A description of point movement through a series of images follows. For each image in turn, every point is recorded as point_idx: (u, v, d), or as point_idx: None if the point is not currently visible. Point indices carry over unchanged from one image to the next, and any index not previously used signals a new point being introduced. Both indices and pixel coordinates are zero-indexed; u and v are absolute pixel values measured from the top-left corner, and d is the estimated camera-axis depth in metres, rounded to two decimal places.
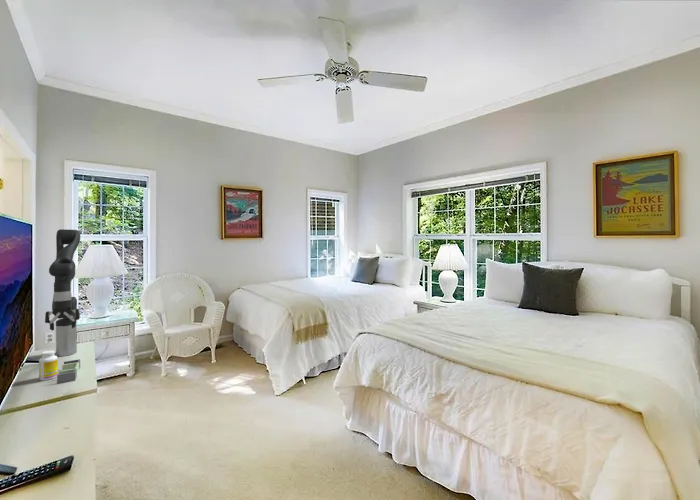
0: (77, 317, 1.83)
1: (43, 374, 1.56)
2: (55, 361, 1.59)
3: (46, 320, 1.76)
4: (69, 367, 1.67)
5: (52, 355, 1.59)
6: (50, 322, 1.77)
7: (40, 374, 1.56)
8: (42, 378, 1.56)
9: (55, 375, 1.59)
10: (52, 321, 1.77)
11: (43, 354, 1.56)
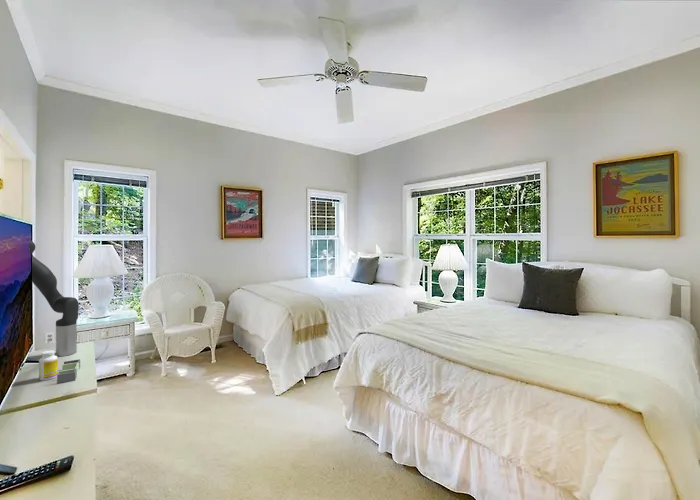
0: None
1: (43, 374, 1.56)
2: (55, 361, 1.59)
3: None
4: (69, 367, 1.67)
5: (52, 355, 1.59)
6: None
7: (40, 374, 1.56)
8: (42, 378, 1.56)
9: (55, 375, 1.59)
10: None
11: (43, 354, 1.56)
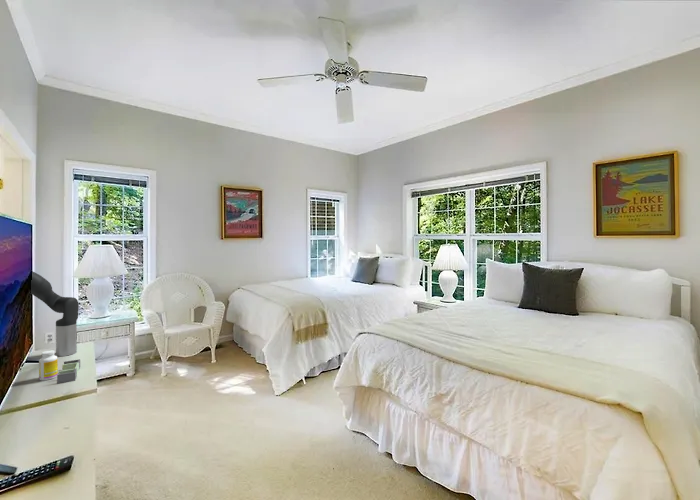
0: None
1: (43, 374, 1.56)
2: (55, 361, 1.59)
3: None
4: (69, 367, 1.67)
5: (52, 355, 1.59)
6: None
7: (40, 374, 1.56)
8: (42, 378, 1.56)
9: (55, 375, 1.59)
10: None
11: (43, 354, 1.56)
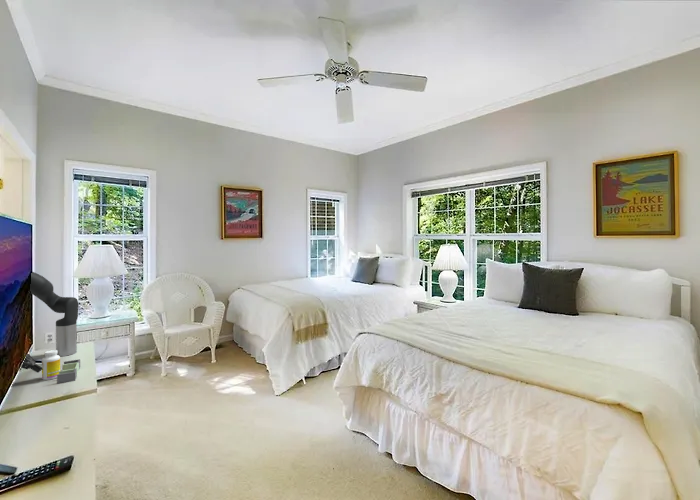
0: None
1: (46, 373, 1.56)
2: (58, 361, 1.60)
3: None
4: (69, 367, 1.67)
5: (55, 355, 1.59)
6: None
7: (43, 374, 1.56)
8: (45, 378, 1.56)
9: None
10: None
11: (46, 354, 1.57)
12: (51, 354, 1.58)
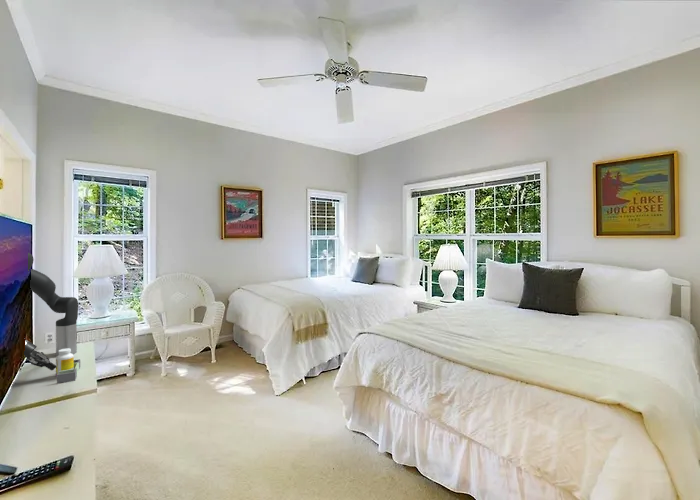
0: None
1: None
2: (72, 359, 1.62)
3: None
4: None
5: (69, 353, 1.62)
6: None
7: (57, 371, 1.59)
8: None
9: None
10: None
11: (60, 352, 1.60)
12: (65, 352, 1.60)
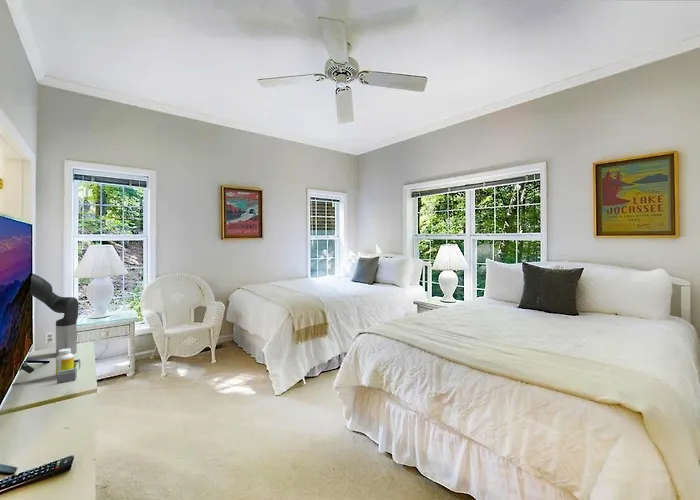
0: None
1: None
2: (72, 359, 1.62)
3: None
4: None
5: (69, 353, 1.62)
6: (21, 368, 1.54)
7: (57, 371, 1.59)
8: None
9: None
10: None
11: (60, 352, 1.60)
12: (65, 352, 1.60)
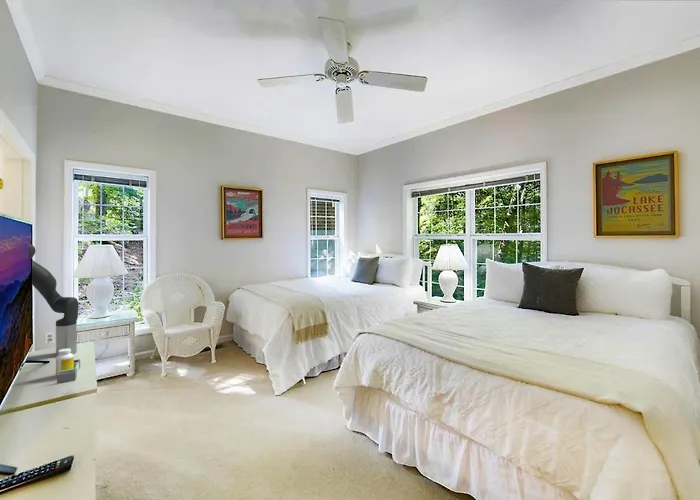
0: None
1: None
2: (72, 359, 1.62)
3: None
4: None
5: (69, 353, 1.62)
6: None
7: (57, 371, 1.59)
8: None
9: None
10: None
11: (60, 352, 1.60)
12: (65, 352, 1.60)
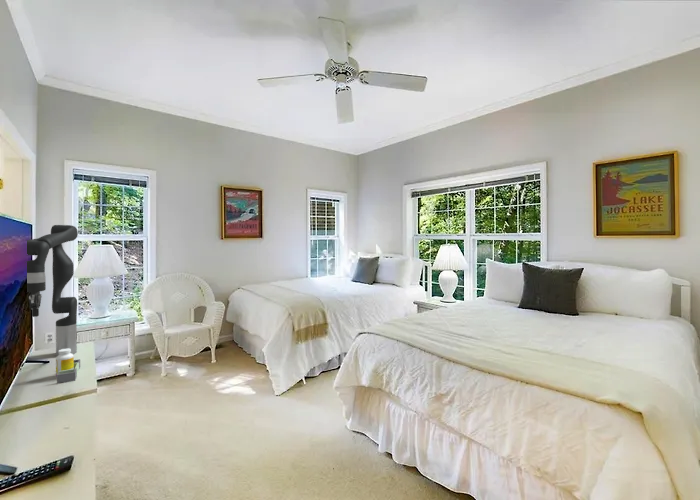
0: None
1: None
2: (72, 359, 1.62)
3: None
4: None
5: (69, 353, 1.62)
6: None
7: (57, 371, 1.59)
8: None
9: None
10: None
11: (60, 352, 1.60)
12: (65, 352, 1.60)
